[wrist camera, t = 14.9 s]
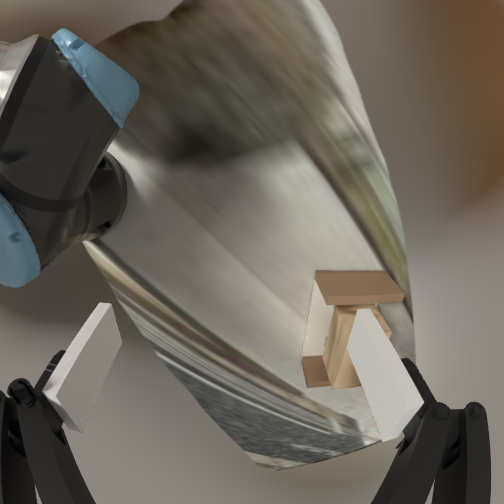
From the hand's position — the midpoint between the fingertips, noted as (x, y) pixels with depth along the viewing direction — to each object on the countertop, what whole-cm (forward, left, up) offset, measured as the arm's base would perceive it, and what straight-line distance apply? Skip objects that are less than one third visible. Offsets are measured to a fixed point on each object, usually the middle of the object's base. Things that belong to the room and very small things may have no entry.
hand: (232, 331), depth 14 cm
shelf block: (+19, -21, -25) cm, 38 cm away
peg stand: (+19, -21, -29) cm, 40 cm away
